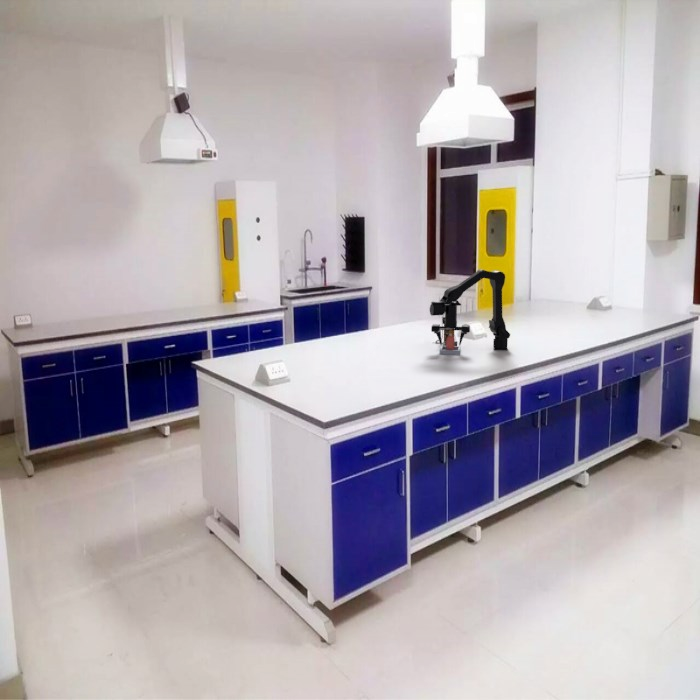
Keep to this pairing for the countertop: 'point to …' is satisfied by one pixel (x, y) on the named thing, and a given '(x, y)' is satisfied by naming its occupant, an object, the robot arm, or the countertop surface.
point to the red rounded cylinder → (450, 342)
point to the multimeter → (446, 333)
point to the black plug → (454, 343)
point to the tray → (455, 351)
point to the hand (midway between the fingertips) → (450, 345)
